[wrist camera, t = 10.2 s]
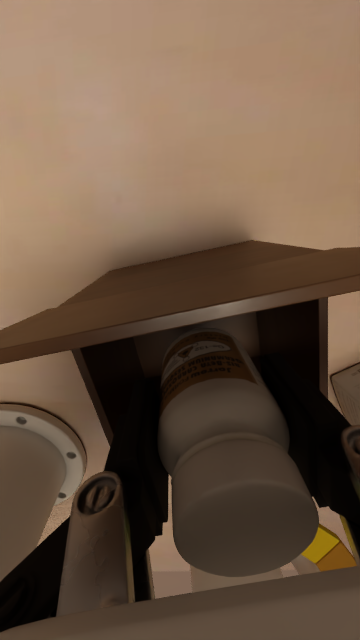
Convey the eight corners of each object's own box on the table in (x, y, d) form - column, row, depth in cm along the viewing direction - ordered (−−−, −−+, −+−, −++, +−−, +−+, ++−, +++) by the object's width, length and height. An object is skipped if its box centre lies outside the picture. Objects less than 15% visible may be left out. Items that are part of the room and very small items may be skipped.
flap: (-73, 379, 5) (-81, 365, 5) (49, 317, 9) (46, 309, 9) (510, 260, 4) (511, 242, 4) (337, 256, 9) (337, 247, 9)
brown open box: (142, 380, 22) (123, 481, 13) (109, 270, 19) (54, 308, 10) (264, 356, 22) (328, 444, 13) (252, 239, 18) (328, 250, 9)
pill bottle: (216, 308, 12) (287, 430, 5) (261, 371, 13) (370, 544, 6) (144, 357, 13) (109, 527, 5) (193, 412, 14) (218, 609, 7)
